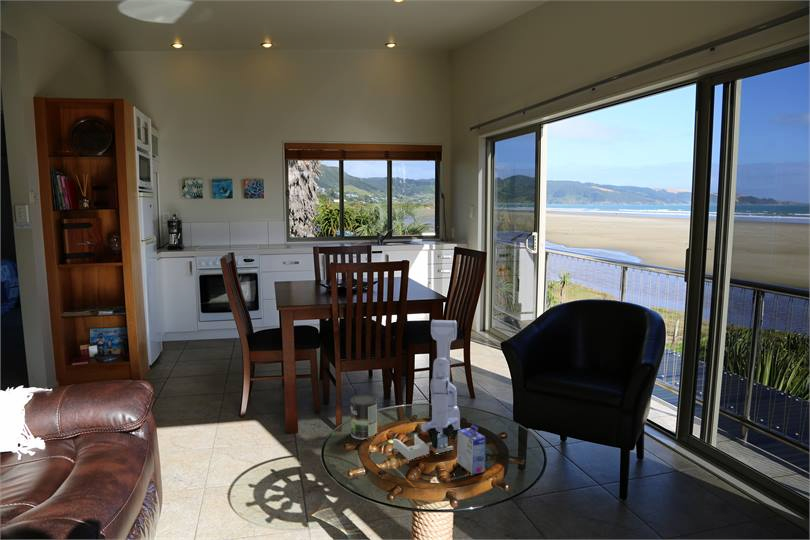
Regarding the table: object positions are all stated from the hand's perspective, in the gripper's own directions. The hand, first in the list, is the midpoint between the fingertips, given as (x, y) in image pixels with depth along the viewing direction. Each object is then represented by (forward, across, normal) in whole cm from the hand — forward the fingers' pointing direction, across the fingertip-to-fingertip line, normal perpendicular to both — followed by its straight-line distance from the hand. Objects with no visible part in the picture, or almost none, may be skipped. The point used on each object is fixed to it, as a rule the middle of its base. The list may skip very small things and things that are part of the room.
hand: (440, 446), depth 208 cm
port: (+2, -10, +3) cm, 11 cm away
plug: (+1, 0, 0) cm, 1 cm away
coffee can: (+2, -19, +26) cm, 32 cm away
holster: (+2, 0, 0) cm, 2 cm away
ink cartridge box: (+2, +3, -16) cm, 16 cm away
